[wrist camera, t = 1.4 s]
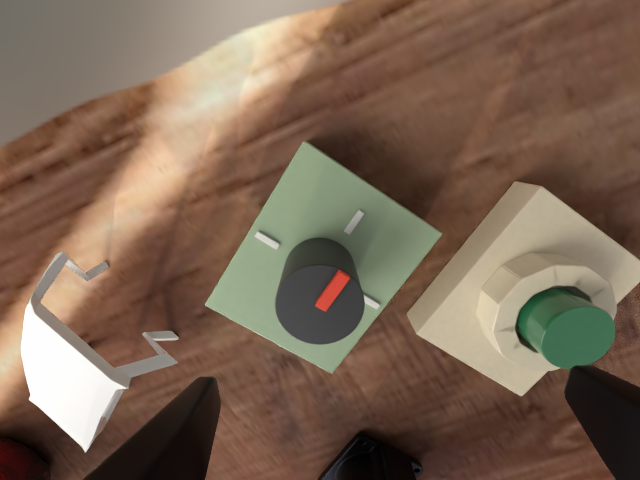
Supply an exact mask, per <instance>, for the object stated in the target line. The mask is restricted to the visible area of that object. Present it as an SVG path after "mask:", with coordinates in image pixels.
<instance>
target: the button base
mask: <svg viewBox="0 0 640 480" xmlns="http://www.w3.org/2000/svg"><path fill="white" fill-rule="evenodd" d="M639 282H640V260H639V259H638V258H637V257H635V256H634V255H633V254H631V253H630V252H629V251H627V250H626V249H625V248H623V247H622V246H621V245H619V244H618V243H617V242H615V241H614V240H613V239H611V238H610V237H609V236H607V235H606V234H605V233H604V232H602V231H601V230H600V229H598V228H597V227H596V226H594V225H593V224H592V223H590V222H589V221H588V220H586V219H585V218H584V217H582V216H581V215H580V214H578V213H577V212H576V211H574V210H573V209H572V208H570V207H569V206H568V205H566V204H565V203H564V202H562V201H561V200H560V199H558V198H557V197H556V196H555V195H553V194H552V193H551V192H549V191H548V190H547V189H545V188H544V187H543V186H538V185H533V184H528V183H522V182H517V181H515V182H514V183H513V184H512V185H511V186H510V188H509V189H508V190H507V191H506V192H505V194H504V195H503V196H502V197H501V199H500V200H499V201H498V202H497V203H496V205H495V206H494V207H493V208H492V210H491V211H490V212H489V213H488V214H487V216H486V217H485V218H484V219H483V221H482V222H481V223H480V224H479V225H478V227H477V228H476V229H475V230H474V231H473V233H472V234H471V235H470V236H469V238H468V239H467V240H466V241H465V242H464V244H463V245H462V246H461V247H460V249H459V250H458V251H457V252H456V253H455V255H454V256H453V257H452V258H451V260H450V261H449V262H448V263H447V264H446V266H445V267H444V268H443V269H442V271H441V272H440V273H439V274H438V275H437V277H436V278H435V279H434V280H433V282H432V283H431V284H430V285H429V286H428V288H427V289H426V290H425V291H424V292H423V294H422V295H421V296H420V297H419V299H418V300H417V301H416V302H415V303H414V305H413V306H412V307H411V308H410V310H409V311H408V312H407V313H406V315H407V317H408V319H409V321H410V323H411V325H412V326H413V328H414V330H415V332H416V334H417V335H419V336H420V337H422V338H424V339H425V340H427V341H429V342H430V343H432V344H434V345H435V346H437V347H439V348H440V349H442V350H444V351H445V352H447V353H449V354H451V355H452V356H454V357H456V358H457V359H459V360H461V361H462V362H464V363H466V364H467V365H469V366H471V367H472V368H474V369H476V370H477V371H479V372H481V373H482V374H484V375H486V376H487V377H489V378H491V379H492V380H494V381H496V382H498V383H499V384H501V385H503V386H504V387H506V388H508V389H509V390H511V391H513V392H514V393H516V394H518V395H519V396H523V395H524V394H525V393H526V392H527V391H528V390H529V389H530V388H531V387H532V386H533V385H534V384H535V383H536V382H537V381H538V380H539V379H540V378H541V377H542V376H543V375H545V374H546V373H547V372H548V371H554V370H557V369H560V368H559V367H557V366H554V365H552V364H551V363H549V362H548V361H547V360H546V359H545V358H544V357H543V356H542V355H541V354H540V353H539V352H538V351H537V350H536V349H534V348H533V347H532V346H531V345H530V344H529V343H528V342H527V341H526V340H525V339H524V338H523V337H522V336H521V334H520V332H519V330H518V326H517V319H518V315H519V312H520V310H521V308H522V307H523V306H524V304H525V303H526V302H527V301H528V300H529V299H530V298H531V297H532V296H534V295H535V294H537V293H539V292H541V291H543V290H547V289H552V288H562V289H567V290H570V291H572V292H574V293H575V294H577V295H579V296H580V297H582V298H584V299H585V300H587V301H589V302H591V303H592V304H594V305H596V306H597V307H599V308H601V309H603V310H604V311H606V312H607V313H608V314H609V315H610V316H611V317H612V319H613V321H614V318H615V316H616V313H617V304H618V303H619V302H620V301H621V300H622V299H623V298H624V297H625V296H626V295H627V294H628V293H629V292H630V291H631V290H632V289H633V288H634V287H635V286H636V285H637V284H638V283H639Z"/></svg>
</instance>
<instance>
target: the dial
mask: <svg viewBox="0 0 640 480" xmlns="http://www.w3.org/2000/svg"><path fill="white" fill-rule="evenodd" d="M364 308H365V300H364V295H363V291H362V288H361V285H360V281H359V278H358V274H357V271H356V268H355V264H354V261H353V258H352V256H351V255H350V253H349V252H348V250H347V249H346V248H345V247H344V246H342V245H341V244H340V243H338V242H336V241H334V240H331V239H327V238H312V239H308V240H306V241H303V242H301V243H300V244H298V245H297V246H296V247H294V248H293V249H292V251H291V252H290V253H289V255H288V257H287V259H286V261H285V265H284V268H283V272H282V276H281V279H280V283H279V286H278V290H277V293H276V297H275V311H276V315H277V318H278V320H279V322H280V324H281V325H282V327H283V328H284V329H285V330H286V331H287V332H288V333H289V334H290V335H291V336H293V337H294V338H296V339H298V340H300V341H302V342H305V343H309V344H316V345H324V344H330V343H334V342H337V341H340V340H342V339H344V338H345V337H347V336H348V335H350V334H351V333H352V332H353V331H354V330H355V329H356V328H357V326H358V325H359V323H360V321H361V319H362V317H363V314H364Z"/></svg>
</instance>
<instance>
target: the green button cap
mask: <svg viewBox="0 0 640 480" xmlns="http://www.w3.org/2000/svg"><path fill="white" fill-rule="evenodd" d="M517 326H518V330H519V332H520V334H521V336H522V337H523V338H524V339H525V340H526V341H527V342H528V343H529V344H530V345H531V346H532V347H533V348H534V349H536V350H537V351H538V352H539V353H540V354H541V355H542V356H543V357H544V358H545V359H546V360H547V361H548V362H549V363H551V364H552V365H554V366H557V367H559V368H564V369H571V368H572V367H573V366H575V365H590V364H592V363H594V362H595V361H597V360H598V359H600V358H601V357H602V356H603V355H604V354H605V353H606V352H607V351H608V350H609V348H610V347H611V345H612V343H613V341H614V338H615V333H616V327H615V323H614V321H613V319H612V317H611V316H610V315H609V314H608V313H607V312H606V311H604V310H603V309H601V308H599V307H597V306H596V305H594V304H592V303H591V302H589V301H587V300H585V299H584V298H582V297H580V296H579V295H577V294H575V293H574V292H572V291H570V290H567V289H562V288H552V289H547V290H543V291H541V292H539V293H537V294H535V295H534V296H532V297H531V298H530V299H529V300H528V301H527V302H526V303H525V304H524V306H523V307H522V308H521V310H520V312H519V315H518V319H517Z"/></svg>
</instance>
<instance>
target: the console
mask: <svg viewBox="0 0 640 480" xmlns="http://www.w3.org/2000/svg"><path fill="white" fill-rule="evenodd" d="M441 236H442V233H441V232H440V231H438V230H437V229H436V228H434V227H433V226H431V225H430V224H429V223H427V222H426V221H424V220H423V219H422V218H420V217H419V216H417V215H416V214H414V213H413V212H411V211H410V210H408V209H407V208H405V207H404V206H402V205H401V204H399V203H398V202H396V201H395V200H393V199H392V198H390V197H389V196H387V195H386V194H384V193H383V192H381V191H380V190H378V189H377V188H376V187H374V186H373V185H371V184H370V183H368V182H367V181H365V180H364V179H362V178H361V177H359V176H358V175H356V174H355V173H353V172H352V171H350V170H349V169H347V168H346V167H344V166H343V165H341V164H340V163H338V162H337V161H335V160H334V159H332V158H331V157H329V156H328V155H327V154H325V153H324V152H322V151H321V150H319V149H318V148H316V147H315V146H313V145H312V144H310V143H309V142H307V141H303V143H302V144H301V146H300V147H299V149H298V151H297V152H296V154H295V156H294V157H293V159H292V161H291V162H290V164H289V166H288V167H287V169H286V171H285V172H284V174H283V176H282V177H281V179H280V181H279V182H278V184H277V186H276V187H275V189H274V191H273V192H272V194H271V196H270V197H269V199H268V201H267V202H266V204H265V206H264V207H263V209H262V210H261V212H260V214H259V215H258V217H257V219H256V220H255V222H254V224H253V225H252V227H251V229H250V230H249V232H248V234H247V235H246V237H245V239H244V240H243V242H242V244H241V245H240V247H239V249H238V250H237V252H236V254H235V255H234V257H233V259H232V260H231V262H230V264H229V265H228V267H227V269H226V270H225V272H224V273H223V275H222V277H221V278H220V280H219V282H218V283H217V285H216V287H215V288H214V290H213V292H212V293H211V295H210V297H209V298H208V300H207V302H206V303H205V306H207V307H209V308H211V309H213V310H214V311H216V312H218V313H220V314H222V315H224V316H226V317H227V318H229V319H231V320H233V321H235V322H237V323H239V324H240V325H242V326H244V327H246V328H248V329H250V330H252V331H253V332H255V333H257V334H259V335H261V336H263V337H265V338H266V339H268V340H270V341H272V342H274V343H276V344H278V345H279V346H281V347H283V348H285V349H287V350H289V351H291V352H292V353H294V354H296V355H298V356H300V357H302V358H303V359H305V360H307V361H309V362H311V363H313V364H315V365H316V366H318V367H320V368H322V369H324V370H326V371H328V372H329V373H331V374H332V373H333V372H334V371H335V369H336V368H337V367H338V366H339V364H340V363H341V362H342V361H343V359H344V358H345V357H346V355H347V354H348V353H349V352H350V350H351V349H352V348H353V347H354V345H355V344H356V343H357V342H358V340H359V339H360V338H361V337H362V335H363V334H364V333H365V331H366V330H367V329H368V328H369V326H370V325H371V324H372V323H373V321H374V320H375V319H376V318H377V316H378V315H379V314H380V313H381V311H382V310H383V309H384V307H385V306H386V305H387V304H388V302H389V301H390V300H391V299H392V297H393V296H394V295H395V294H396V292H397V291H398V290H399V289H400V287H401V286H402V285H403V284H404V282H405V281H406V280H407V278H408V277H409V276H410V275H411V273H412V272H413V271H414V270H415V268H416V267H417V266H418V265H419V263H420V262H421V261H422V260H423V258H424V257H425V256H426V254H427V253H428V252H429V251H430V249H431V248H432V247H433V246H434V244H435V243H436V242H437V241H438V239H439V238H440V237H441ZM312 238H327V239H331V240H334V241H336V242H338V243H340V244H341V245H342V246H344V247H345V248H346V249H347V250H348V252H349V253H350V255H351V256H352V258H353V261H354V264H355V268H356V271H357V274H358V278H359V281H360V285H361V288H362V291H363V295H364V300H365V308H364V314H363V317H362V319H361V321H360V323H359V325H358V326H357V328H356V329H355V330H354V331H353V332H352V333H351V334H350V335H348V336H347V337H345V338H344V339H342V340H340V341H337V342H334V343H330V344H324V345H316V344H309V343H305V342H302V341H300V340H298V339H296V338H294V337H293V336H291V335H290V334H289V333H288V332H287V331H286V330H285V329H284V328H283V327H282V325H281V324H280V322H279V320H278V318H277V315H276V311H275V297H276V293H277V290H278V286H279V283H280V279H281V276H282V272H283V268H284V265H285V261H286V259H287V257H288V255H289V253H290V252H291V251H292V249H293V248H294V247H296V246H297V245H298V244H300V243H301V242H303V241H306V240H308V239H312Z"/></svg>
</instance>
